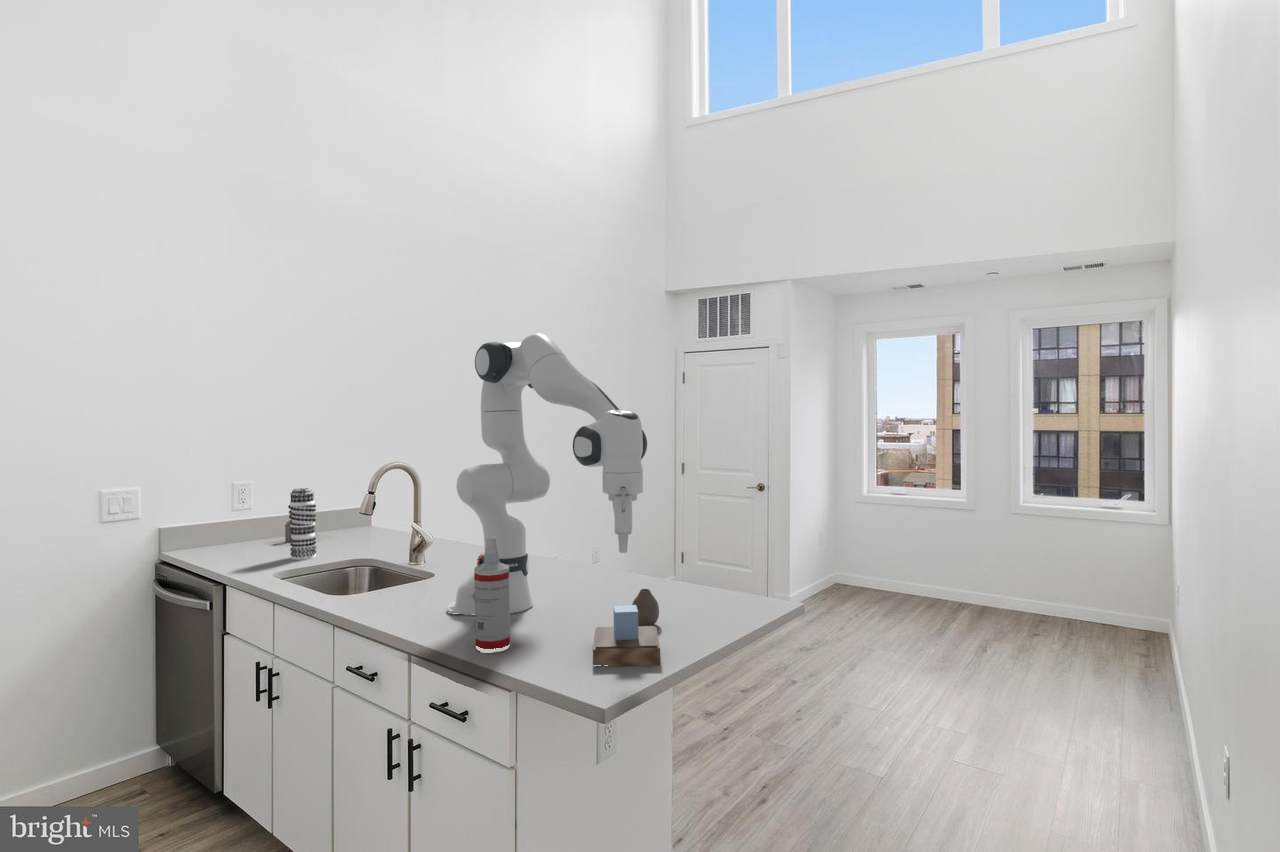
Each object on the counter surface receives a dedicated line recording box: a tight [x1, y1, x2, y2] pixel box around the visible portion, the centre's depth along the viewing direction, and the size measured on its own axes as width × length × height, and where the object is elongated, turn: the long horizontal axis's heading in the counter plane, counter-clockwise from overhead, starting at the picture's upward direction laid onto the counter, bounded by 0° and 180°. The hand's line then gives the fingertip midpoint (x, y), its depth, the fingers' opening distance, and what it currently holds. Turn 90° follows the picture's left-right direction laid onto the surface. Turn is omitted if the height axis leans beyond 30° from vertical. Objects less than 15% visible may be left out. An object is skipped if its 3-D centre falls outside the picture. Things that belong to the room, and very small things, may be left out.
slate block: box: [613, 604, 638, 640], centre depth 153 cm, size 5×5×6 cm
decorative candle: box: [287, 487, 317, 561], centre depth 255 cm, size 9×9×25 cm
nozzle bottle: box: [473, 537, 511, 649], centre depth 158 cm, size 8×8×25 cm
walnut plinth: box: [592, 625, 661, 667], centre depth 153 cm, size 14×14×4 cm
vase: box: [631, 588, 660, 626], centre depth 174 cm, size 7×7×9 cm
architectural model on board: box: [284, 520, 316, 544], centre depth 288 cm, size 11×3×10 cm, turn 149°
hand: (622, 547), depth 154 cm, fingers open, 8 cm apart
